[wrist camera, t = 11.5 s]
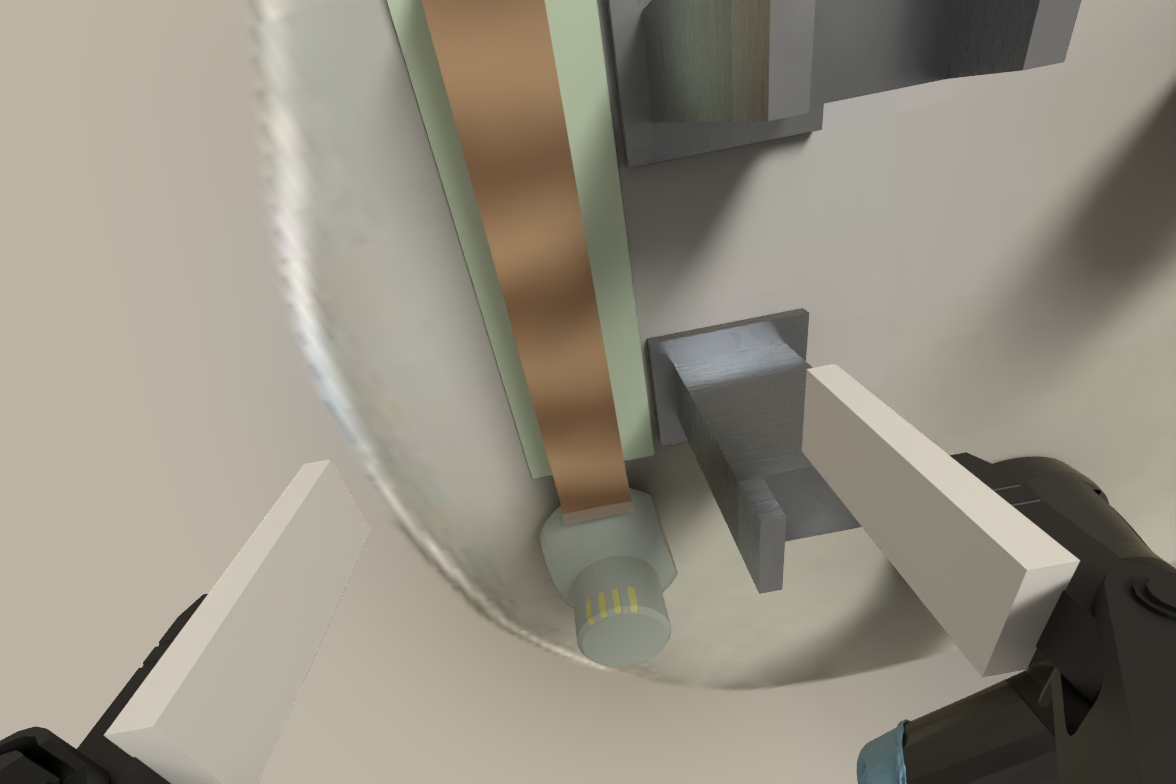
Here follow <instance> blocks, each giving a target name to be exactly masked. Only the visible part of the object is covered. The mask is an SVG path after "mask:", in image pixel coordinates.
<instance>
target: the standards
mask: <svg viewBox="0 0 1176 784" xmlns="http://www.w3.org/2000/svg"><path fill="white" fill-rule="evenodd" d="M1080 3H1081V0H607V7H608V16H609V24H610V33H611V41H612V49H613V58H614V66H615V75H616V83H617V91H618V100H619V108H620V117H621V125H622V133H623V142H624V150H625V159H626V167H628V168H632V167H637V166H642V165H647V164H652V163H657V162H662V161H667V160H672V159H677V158H682V157H687V156H692V155H697V154H702V153H707V152H712V151H717V150H722V149H727V148H732V147H737V146H742V145H747V144H752V143H757V142H762V141H767V140H772V139H777V138H782V137H787V136H792V135H797V134H802V133H807V132H812V131H817V130H822V121H823V106H824V103H828V102H833V101H838V100H843V99H848V98H853V97H858V96H863V95H868V94H873V93H878V92H883V91H888V90H893V89H898V88H903V87H908V86H913V85H918V84H923V83H928V82H933V81H938V80H943V79H949V78H958V77H966V76H975V75H984V74H993V73H1002V72H1011V71H1020V70H1026V69H1031V68H1036V67H1041V66H1046V65H1051V64H1056V63H1061V62H1064V60H1065V57H1066V53H1067V50H1068V46H1069V43H1070V39H1071V35H1072V32H1073V28H1074V25H1075V21H1076V18H1077V14H1078V11H1079V7H1080ZM808 322H809V312H807V311H806V310H804V309H803V308H802V309H797V310H792V311H787V312H782V313H777V314H772V315H767V316H761V317H756V318H751V319H746V320H741V321H736V322H731V323H726V324H721V325H715V326H710V327H705V328H700V329H695V330H690V331H685V332H680V333H675V334H670V335H664V336H659V337H654V338H649V339H647V343H648V352H649V360H650V368H651V377H652V385H653V394H654V402H655V410H656V419H657V427H658V435H659V441H660V444H661V446H666V445H671V444H676V443H682V442H687V441H688V442H689V444H690V446H691V448H692V450H693V452H694V455H695V457H696V459H697V461H698V463H699V465H700V467H701V470H702V472H703V474H704V476H705V478H706V480H707V482H708V485H709V487H710V489H711V491H712V493H713V495H714V497H715V500H716V502H717V504H718V506H719V508H720V510H721V513H722V515H723V517H724V519H725V521H726V523H727V525H728V528H729V530H730V532H731V534H732V536H733V538H734V540H735V543H736V545H737V547H738V549H739V551H740V553H741V555H742V558H743V560H744V562H745V564H746V566H747V568H748V570H749V573H750V575H751V577H752V579H753V581H754V583H755V585H756V588H757V590H758V592H759V594H760V593H766V592H771V591H776V590H781V589H782V582H783V564H784V547H785V541H790V540H795V539H800V538H806V537H811V536H816V535H821V534H827V533H832V532H837V531H842V530H848V529H853V528H858V527H862V526H861V525H860V523H859V522H858V521H857V520H856V518H855V517H854V516H853V515H852V513H851V512H850V511H849V510H848V508H847V507H846V506H845V505H844V503H843V502H842V501H841V500H840V498H839V497H838V496H837V495H836V493H835V492H834V491H833V490H832V488H831V487H830V486H829V485H828V483H827V482H826V481H825V480H824V478H823V477H822V476H821V475H820V473H819V472H818V471H817V470H816V468H815V467H814V466H813V465H812V463H811V462H810V461H809V460H808V458H807V457H806V456H805V455H804V453H803V452H802V438H803V422H804V405H805V389H806V373H807V369H810V368H812V367H811V366H810V365H809V364H808V363H807V362H806V350H807V336H808Z"/></svg>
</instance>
